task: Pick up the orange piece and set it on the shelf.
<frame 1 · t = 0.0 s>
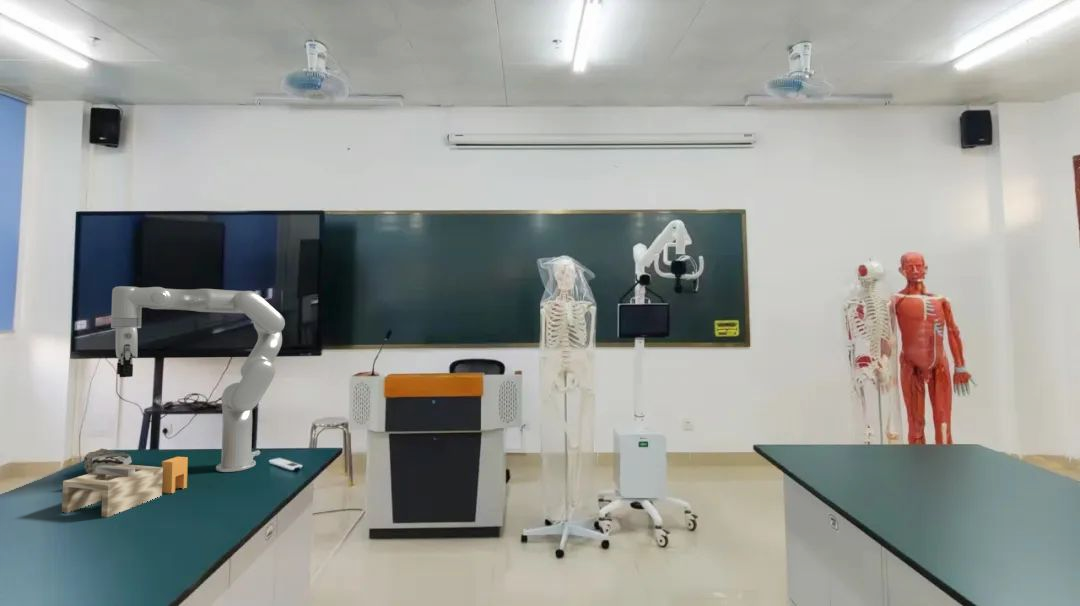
hand: (124, 375, 155), 37 cm above the lab bench, tool pointing down, fingers open, 9 cm apart
food container: (115, 486, 157), on the lab bench
pumice stone: (104, 473, 170), on the lab bench
orange piece: (174, 490, 154), on the lab bench
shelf: (114, 503, 142), on the lab bench
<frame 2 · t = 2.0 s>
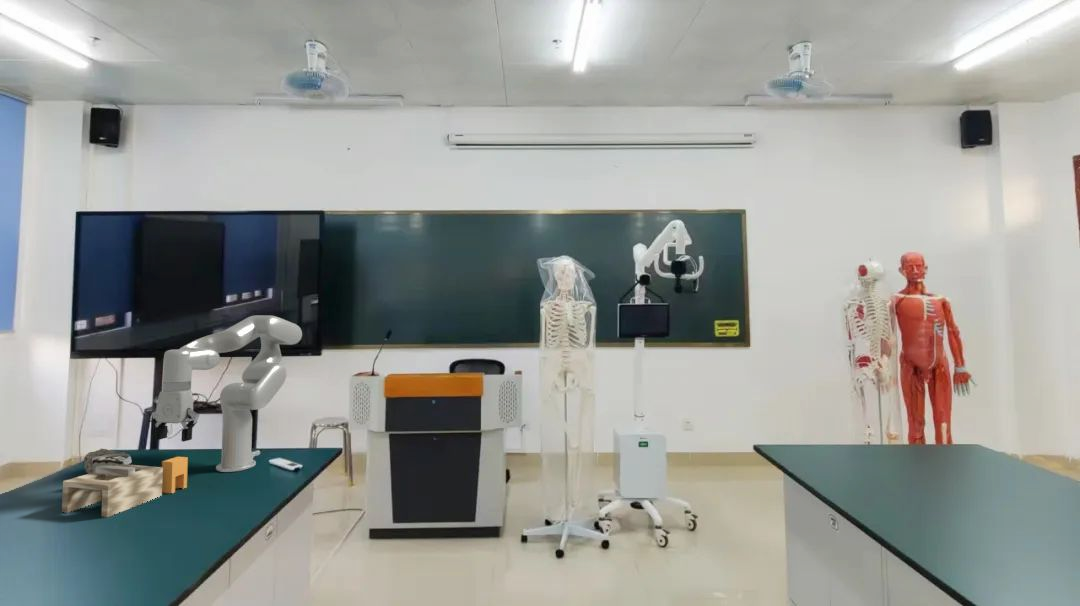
hand: (174, 439, 154), 17 cm above the lab bench, tool pointing down, fingers open, 9 cm apart
nothing on the lab bench moved.
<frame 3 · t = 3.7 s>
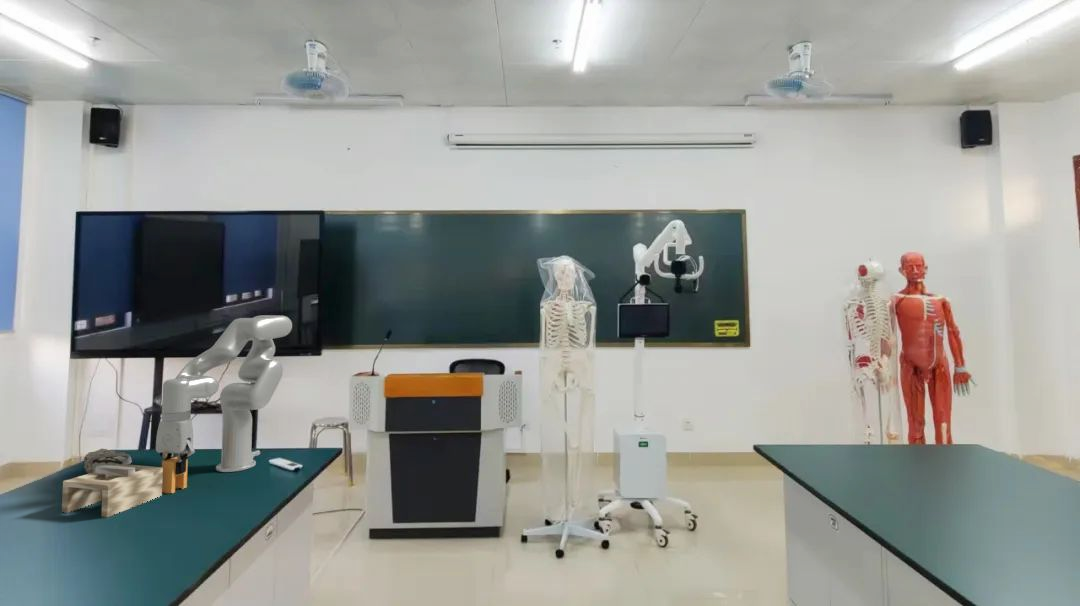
hand: (174, 472, 154), 6 cm above the lab bench, tool pointing down, fingers closed on orange piece, 4 cm apart
orange piece: (174, 490, 154), on the lab bench, touching gripper
everything else where it was.
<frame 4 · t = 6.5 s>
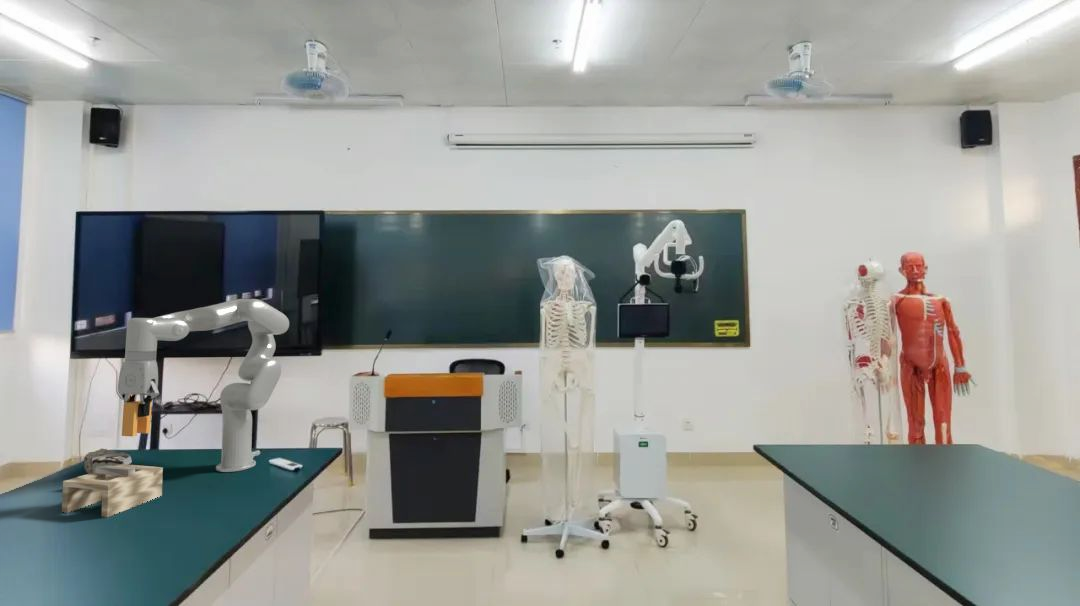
hand: (137, 415, 146), 26 cm above the lab bench, tool pointing down, fingers closed on orange piece, 4 cm apart
orange piece: (135, 434, 146), point 20 cm above the lab bench, touching gripper
everything else where it was.
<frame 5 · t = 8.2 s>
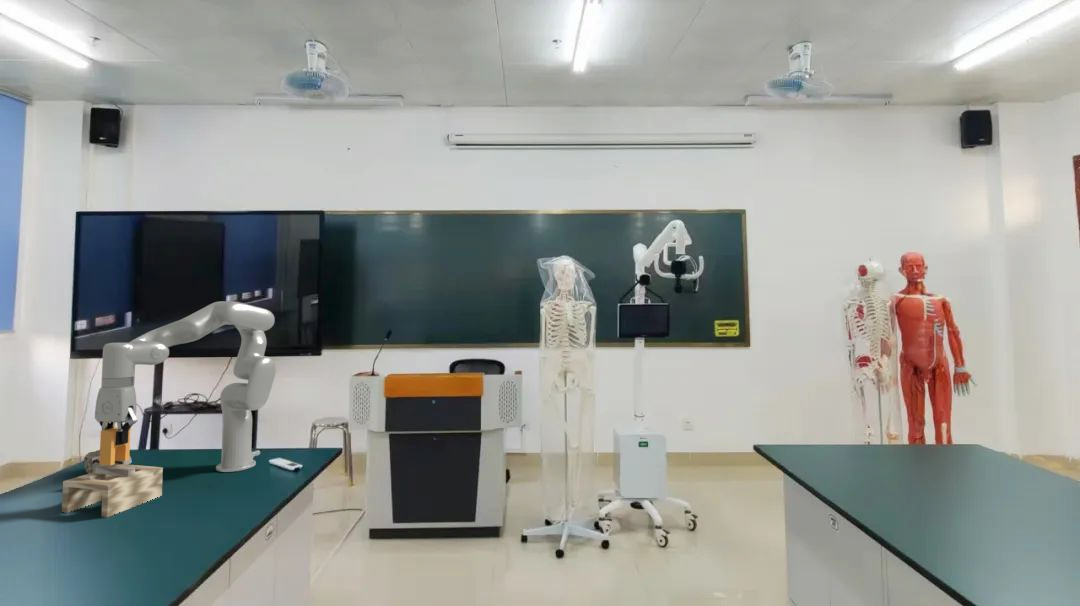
hand: (115, 443, 142), 18 cm above the lab bench, tool pointing down, fingers closed on orange piece, 4 cm apart
orange piece: (114, 462, 142), point 13 cm above the lab bench, touching gripper
everything else where it was.
when the fingers open (13 cm above the lab bench, at t = 9.5 s): orange piece drops 1 cm, resting on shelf.
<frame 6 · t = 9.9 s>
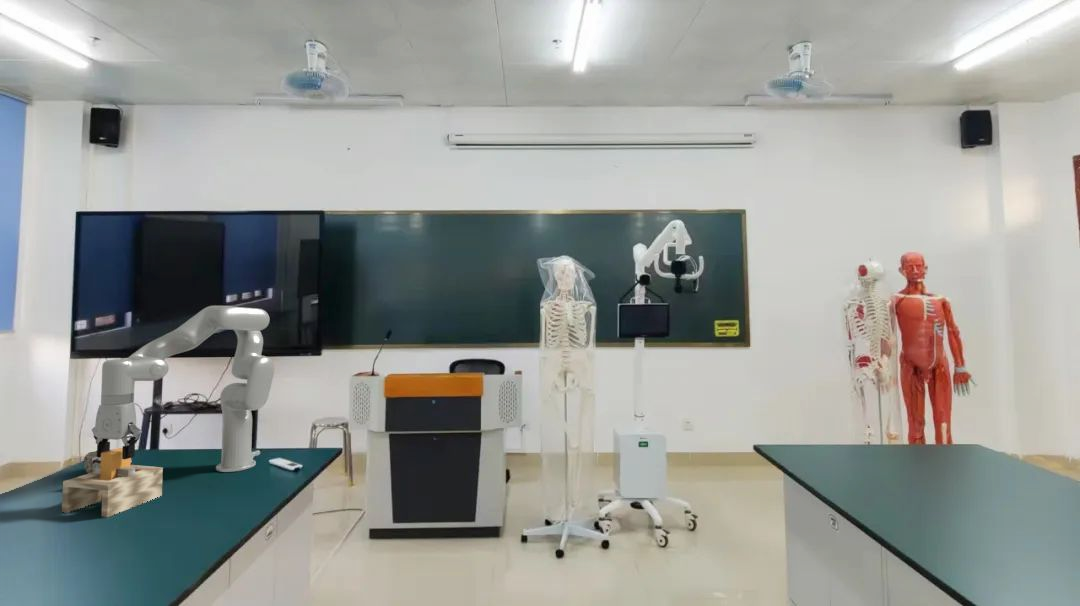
hand: (115, 456, 143), 14 cm above the lab bench, tool pointing down, fingers open, 8 cm apart
orange piece: (115, 483, 142), point 6 cm above the lab bench, touching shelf
everything else where it was.
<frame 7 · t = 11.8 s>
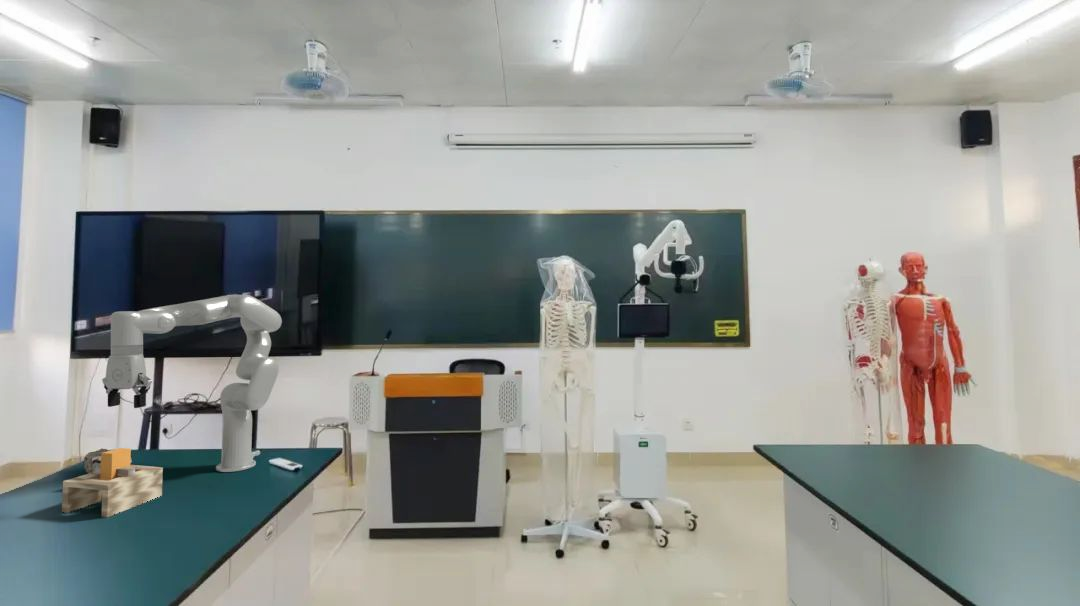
hand: (126, 406, 145), 29 cm above the lab bench, tool pointing down, fingers open, 9 cm apart
nothing on the lab bench moved.
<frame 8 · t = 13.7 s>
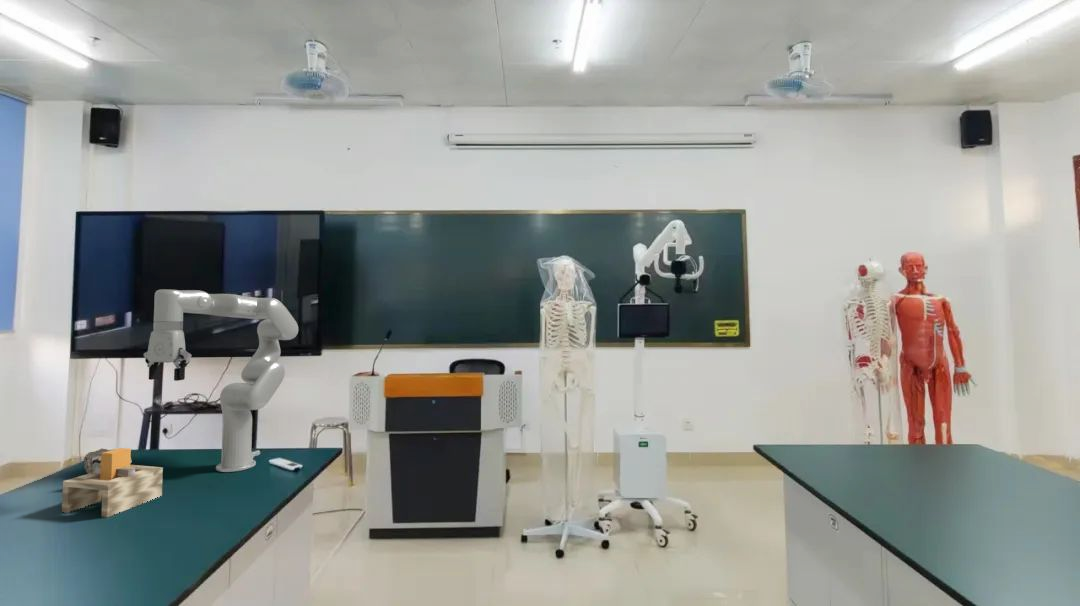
hand: (166, 379, 153), 36 cm above the lab bench, tool pointing down, fingers open, 9 cm apart
nothing on the lab bench moved.
at the end: orange piece 0.1 cm off-centre on the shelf, point 6.0 cm above the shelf's base; orange piece touching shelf; the gripper is holding nothing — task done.
